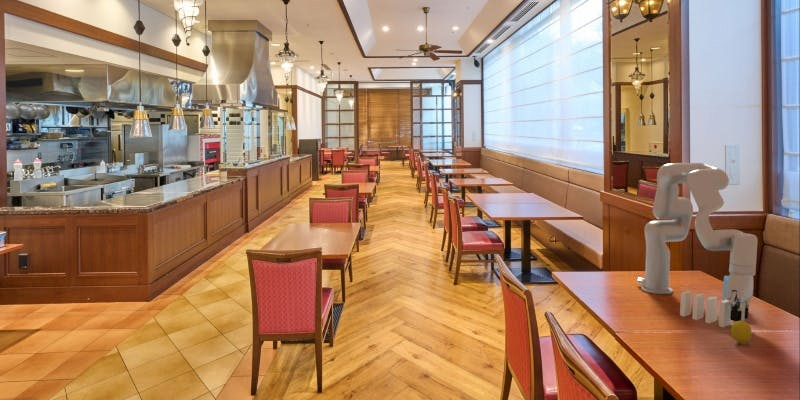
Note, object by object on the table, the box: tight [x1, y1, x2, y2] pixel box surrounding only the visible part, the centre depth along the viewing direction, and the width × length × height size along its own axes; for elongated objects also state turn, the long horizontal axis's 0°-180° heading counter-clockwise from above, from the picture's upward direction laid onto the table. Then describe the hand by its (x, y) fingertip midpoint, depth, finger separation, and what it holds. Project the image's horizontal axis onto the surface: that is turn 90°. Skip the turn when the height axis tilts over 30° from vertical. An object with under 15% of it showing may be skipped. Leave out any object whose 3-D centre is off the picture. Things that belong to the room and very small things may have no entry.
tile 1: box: [679, 290, 693, 318], centre depth 186 cm, size 2×5×9 cm, turn 124°
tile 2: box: [691, 292, 706, 321], centre depth 182 cm, size 2×5×9 cm, turn 124°
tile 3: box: [704, 295, 718, 324], centre depth 178 cm, size 2×5×9 cm, turn 124°
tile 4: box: [718, 299, 731, 328], centre depth 174 cm, size 2×5×9 cm, turn 124°
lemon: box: [730, 320, 752, 345], centre depth 158 cm, size 6×6×8 cm
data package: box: [722, 275, 739, 301], centre depth 192 cm, size 12×4×12 cm, turn 155°
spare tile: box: [732, 301, 746, 325], centre depth 171 cm, size 2×5×9 cm, turn 124°
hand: (739, 318), depth 171 cm, fingers closed on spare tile, 4 cm apart
